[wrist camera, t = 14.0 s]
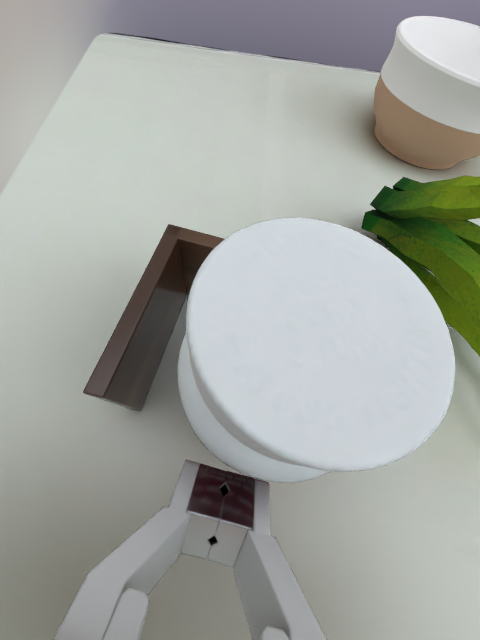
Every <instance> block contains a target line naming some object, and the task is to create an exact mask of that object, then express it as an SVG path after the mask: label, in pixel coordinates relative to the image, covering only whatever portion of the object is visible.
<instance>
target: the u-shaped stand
mask: <svg viewBox="0 0 480 640" xmlns="http://www.w3.org/2000/svg"><path fill="white" fill-rule="evenodd" d="M223 240H224V239H223V238H219V237H216V236H212V235H208V234H204V233H200V232H197V231H193V230H189V229H185V228H182V227H178V226H174V225H170V224H168V226H167V228H166V230H165V232H164V234H163V236H162V238H161V240H160V242H159V244H158V246H157V248H156V250H155V252H154V254H153V256H152V258H151V260H150V262H149V264H148V266H147V268H146V270H145V272H144V274H143V275H142V277H141V279H140V281H139V283H138V285H137V287H136V289H135V291H134V293H133V295H132V297H131V299H130V301H129V303H128V305H127V307H126V309H125V311H124V313H123V315H122V317H121V318H120V320H119V322H118V324H117V326H116V328H115V330H114V332H113V334H112V336H111V338H110V340H109V342H108V344H107V346H106V348H105V350H104V352H103V354H102V356H101V358H100V359H99V361H98V363H97V365H96V367H95V369H94V371H93V373H92V375H91V377H90V379H89V381H88V383H87V385H86V387H85V389H84V391H83V393H84V394H87V395H90V396H93V397H96V398H99V399H102V400H105V401H108V402H111V403H114V404H117V405H120V406H123V407H126V408H129V409H133V410H137V411H141V409H142V407H143V404H144V402H145V399H146V396H147V394H148V391H149V389H150V386H151V384H152V381H153V379H154V376H155V374H156V371H157V369H158V366H159V363H160V361H161V358H162V356H163V353H164V351H165V348H166V346H167V343H168V341H169V338H170V336H171V333H172V330H173V328H174V325H175V323H176V320H177V318H178V315H179V313H180V310H181V308H182V305H183V303H184V300H185V297H186V295H189V294H190V290H191V287H192V284H193V281H194V279H195V276H196V274H197V272H198V270H199V268H200V267H201V265H202V263H203V262H204V260H205V259H206V258H207V256H208V255H209V254H210V253H211V251H212V250H213V249H214V248H215V247H216V246H218V245H219V244H220V243H221V242H222V241H223Z"/></svg>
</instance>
